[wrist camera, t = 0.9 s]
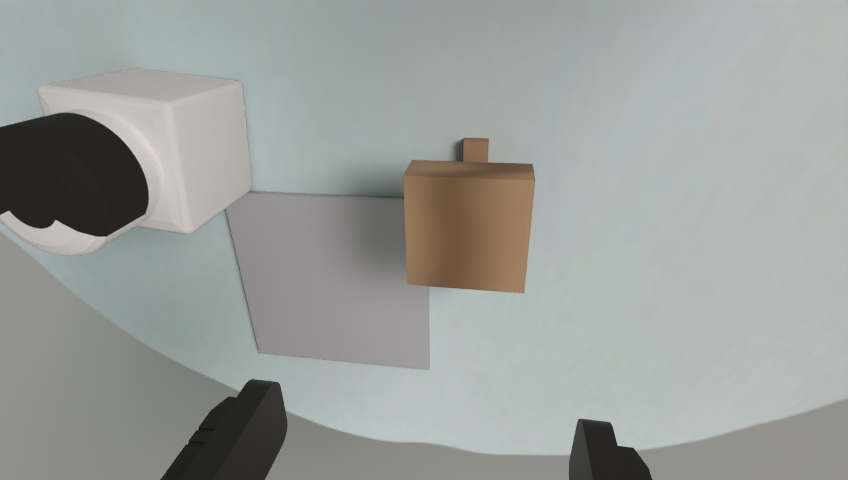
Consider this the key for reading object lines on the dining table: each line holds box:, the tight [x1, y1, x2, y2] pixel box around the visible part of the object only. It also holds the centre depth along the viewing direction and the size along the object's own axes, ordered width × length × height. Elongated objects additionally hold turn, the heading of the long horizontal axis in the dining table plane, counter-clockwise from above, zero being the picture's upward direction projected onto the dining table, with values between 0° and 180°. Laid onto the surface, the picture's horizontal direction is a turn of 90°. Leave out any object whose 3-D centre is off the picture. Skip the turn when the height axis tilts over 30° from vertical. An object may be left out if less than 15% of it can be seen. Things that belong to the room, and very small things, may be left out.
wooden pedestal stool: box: [403, 138, 535, 293], centre depth 25 cm, size 6×6×7 cm
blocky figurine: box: [0, 68, 252, 256], centre depth 24 cm, size 7×7×12 cm
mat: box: [226, 191, 430, 370], centre depth 33 cm, size 14×14×1 cm
